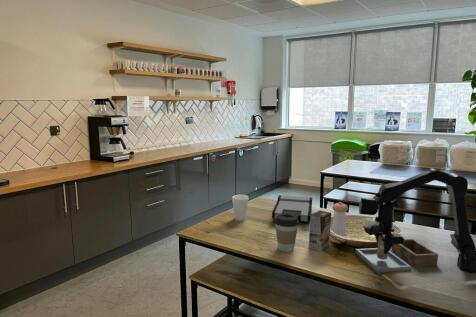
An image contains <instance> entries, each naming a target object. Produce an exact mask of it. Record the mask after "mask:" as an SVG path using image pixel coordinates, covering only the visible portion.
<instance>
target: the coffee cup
mask: <svg viewBox="0 0 476 317" xmlns="http://www.w3.org/2000/svg"><path fill="white" fill-rule="evenodd" d="M273 222H274V224H275V233H276V242H277V248H278V250H279V251H281V252H285V253H287V252H292V251H294V248H295V246H296V245H295V244H296V239H297V233H298V226H299V220H298V219H297V217H296V216H295V215H292V214H280V215H278V216H277V218H275V221H274V220H273Z"/></svg>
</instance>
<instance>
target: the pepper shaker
mask: <svg viewBox="0 0 476 317" xmlns="http://www.w3.org/2000/svg"><path fill="white" fill-rule="evenodd" d="M332 210H333V220H332V222H331V224H332V225H331V232H332V231H333V232H334V233H336V234H338V235H341V236H346V237H347V223H346V216H347V211H348V210H349V208H348V205H347V204H344V203H343V202H341V201H339V202H338V203H337V202H335V203H334V204H333V205H332ZM330 241H331V242H333V243H336V244H341V243H340V242H339V241H337V240H335V239H333V238H332V237H331V236H330Z"/></svg>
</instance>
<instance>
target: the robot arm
mask: <svg viewBox="0 0 476 317" xmlns="http://www.w3.org/2000/svg"><path fill="white" fill-rule="evenodd" d="M433 181H437V182H439V183H442V184H445V186H446V189H447V191H448V193H449V196H450V198H451V206H452V212H453V221H454V227H455V228H454V229H455V230H454V233H450V238H451V241H450V243H451V245H452V246H453V247H454V248H455V249H456V251H457V253H458V256H457V262H456V266H457V268H458V269H459V270H461V271H462V272H464V273H469V274H476V245H475V241H474V239H473V237H472V235H471V233H470V228H469V220H468V213H467V205H466V196H467V193H468V187H469V183H468V182H469V181H468V179H467V178H466V177H464V176H462V175H460V174H459V173H455V172H451V173H447V172H445V171H442V170H439V169H436V168H433V167H432V168H429V169H428V170H425V171H423V172H421V173H417V174H416V175H413V176H411V177H409V178H406V179H403V180H401V181H398V182H397V181H396V182H389V183H386V184H382V185H380V187H379V189H378V192H377V193H376V194H375V195H374V196H373V197H372V198H367V197H360V200H359V204H358V212H359V215H367V216H375V215H376V216H375V217H374V220H371V221H367V222H366V223H365V224H363V229H364V233H366V234H368V235H369V236H374V238H375V241H376V244H377V246H378V238H379V235H385V239H381V240H382V241H383V242H384V254H387V253H388V252H389V250H390V251H391V250H392V246H393V245H394V244H404V239H405V237H403V236H402V235H401V234H399V233H398V232H396V233H394V232H395V229H394V228H393V223H396V219H395V218H394V212H395V211H394V210H395V208H396V207H397V208H399V207H400V204H399V203H398V202H397V199H398V198H400V197H401V196H402V195H403V194H405V193H407V192H408V191H411V190H414V189H416V188H418V187H422V186H424V185H426V184H429V183H431V182H433ZM377 213H378V214H377Z"/></svg>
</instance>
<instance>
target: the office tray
mask: <svg viewBox="0 0 476 317" xmlns="http://www.w3.org/2000/svg"><path fill="white" fill-rule="evenodd" d="M312 208H313V197H311V196H309V197H308V196H296V195H281V194H280V195H278V197H277V201H276V203H275V205H274V207H273V209H272V211H271V219H273V222H274V221H275V218H277V216H278V215H280V214H292V215H295V216H296V217H297V219H298V220H299V224H302V225H310V214H312V213H313V212H312V211H313V210H312Z"/></svg>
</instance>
